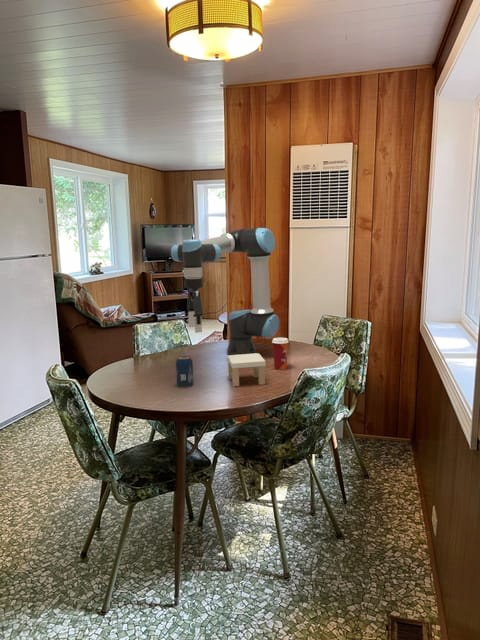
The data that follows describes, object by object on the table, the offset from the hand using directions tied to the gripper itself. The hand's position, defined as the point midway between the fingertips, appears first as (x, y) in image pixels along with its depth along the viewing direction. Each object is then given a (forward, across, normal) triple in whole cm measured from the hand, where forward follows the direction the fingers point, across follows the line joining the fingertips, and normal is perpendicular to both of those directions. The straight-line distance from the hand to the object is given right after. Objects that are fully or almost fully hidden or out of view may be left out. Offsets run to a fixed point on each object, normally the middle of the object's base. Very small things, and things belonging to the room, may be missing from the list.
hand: (195, 329), depth 197 cm
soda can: (+24, -1, -5) cm, 24 cm away
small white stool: (+24, +3, +21) cm, 31 cm away
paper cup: (+24, -10, +41) cm, 49 cm away
